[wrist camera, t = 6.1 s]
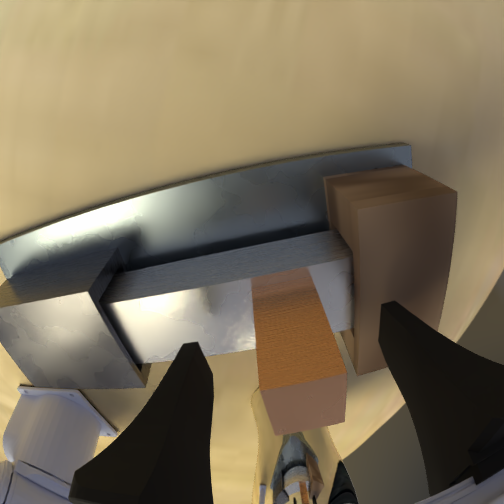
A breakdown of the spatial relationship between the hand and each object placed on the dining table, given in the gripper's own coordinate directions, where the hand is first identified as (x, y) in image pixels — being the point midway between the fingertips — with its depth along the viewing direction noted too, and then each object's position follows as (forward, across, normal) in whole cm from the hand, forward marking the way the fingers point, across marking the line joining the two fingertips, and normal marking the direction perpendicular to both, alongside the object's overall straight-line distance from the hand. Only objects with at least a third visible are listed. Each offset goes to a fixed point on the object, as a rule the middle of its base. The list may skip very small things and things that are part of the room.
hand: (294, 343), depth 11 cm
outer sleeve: (+6, +5, 0) cm, 8 cm away
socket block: (+6, -5, 0) cm, 8 cm away
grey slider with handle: (+5, +2, 0) cm, 5 cm away
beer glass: (+7, +1, +13) cm, 15 cm away
